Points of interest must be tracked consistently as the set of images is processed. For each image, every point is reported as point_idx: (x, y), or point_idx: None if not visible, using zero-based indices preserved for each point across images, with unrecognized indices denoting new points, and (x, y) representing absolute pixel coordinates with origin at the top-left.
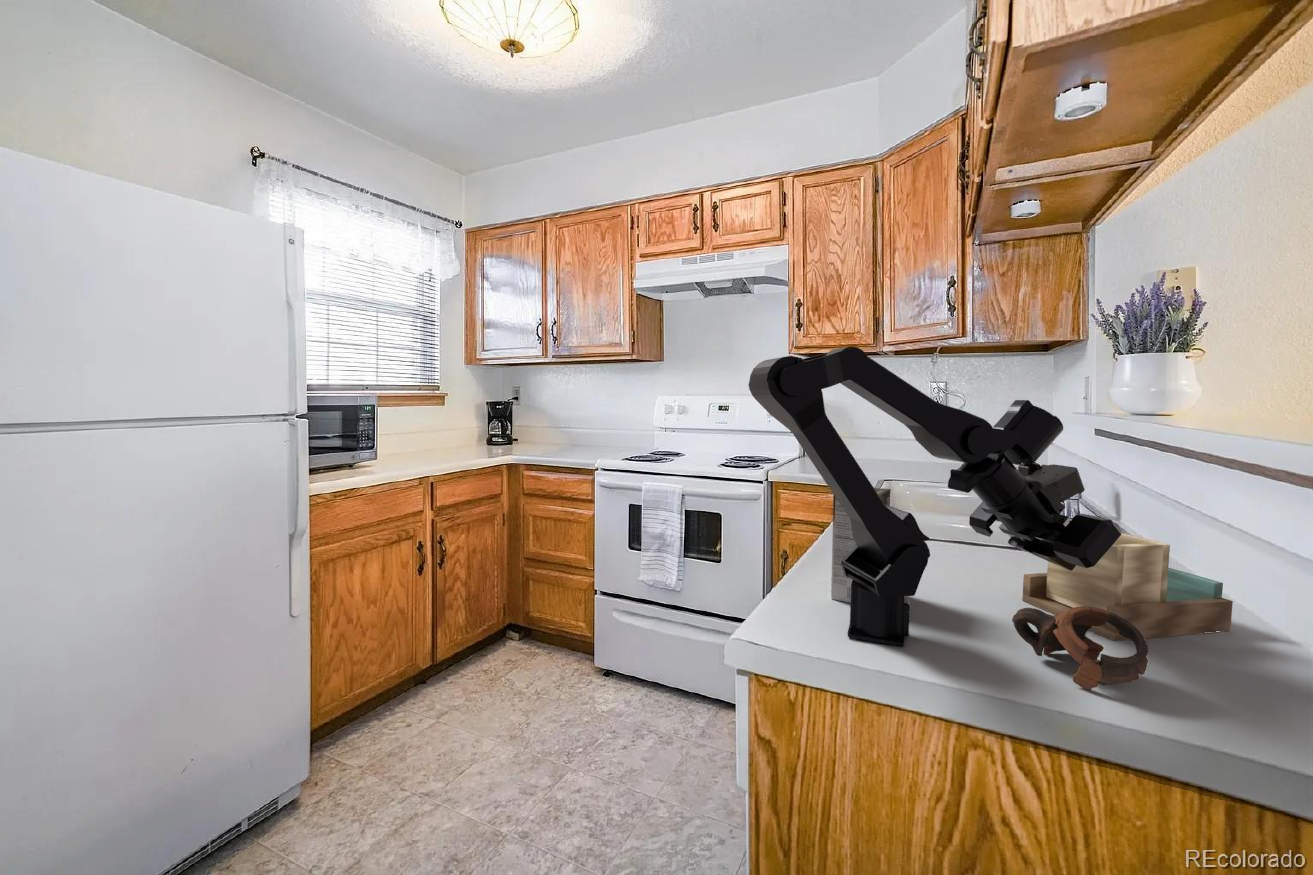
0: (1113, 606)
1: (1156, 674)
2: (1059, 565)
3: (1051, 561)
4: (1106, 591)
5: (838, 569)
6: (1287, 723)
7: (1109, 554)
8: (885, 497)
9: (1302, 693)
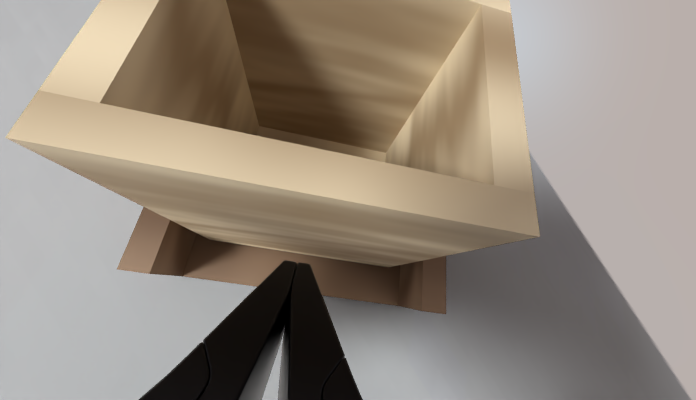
0: (428, 297)
1: (531, 389)
2: (280, 340)
3: (262, 396)
4: (393, 258)
5: None
6: (654, 361)
7: (461, 238)
8: None
9: (581, 232)
